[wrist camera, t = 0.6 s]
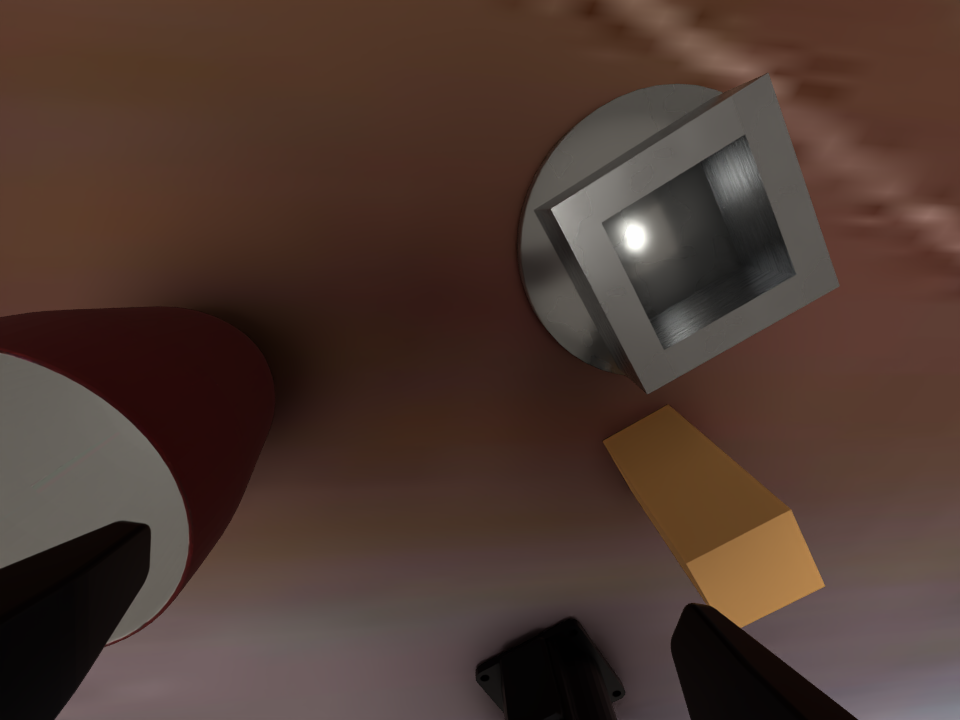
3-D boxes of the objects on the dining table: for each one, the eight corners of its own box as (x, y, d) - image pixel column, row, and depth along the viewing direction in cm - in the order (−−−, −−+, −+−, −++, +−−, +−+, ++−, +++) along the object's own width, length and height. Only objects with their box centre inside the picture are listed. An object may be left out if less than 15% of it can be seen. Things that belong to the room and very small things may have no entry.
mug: (306, 509, 22) (196, 739, 12) (125, 490, 21) (-149, 724, 11) (323, 291, 19) (194, 370, 9) (112, 257, 18) (-280, 306, 8)
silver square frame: (810, 285, 20) (902, 302, 16) (590, 410, 21) (624, 456, 17) (720, 30, 17) (805, -28, 13) (466, 194, 18) (471, 187, 14)
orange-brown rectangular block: (696, 459, 22) (825, 586, 15) (632, 493, 23) (726, 634, 15) (668, 404, 21) (790, 509, 14) (602, 441, 22) (686, 563, 14)
